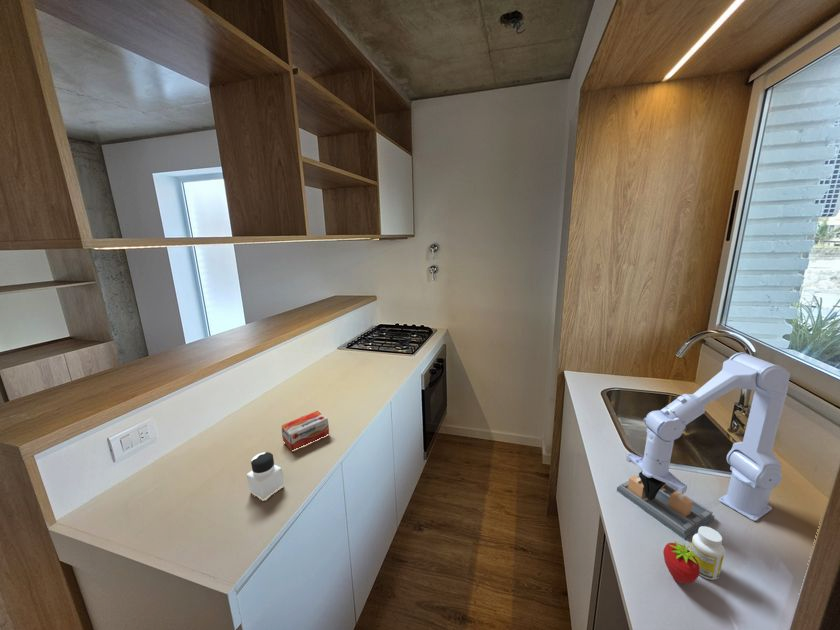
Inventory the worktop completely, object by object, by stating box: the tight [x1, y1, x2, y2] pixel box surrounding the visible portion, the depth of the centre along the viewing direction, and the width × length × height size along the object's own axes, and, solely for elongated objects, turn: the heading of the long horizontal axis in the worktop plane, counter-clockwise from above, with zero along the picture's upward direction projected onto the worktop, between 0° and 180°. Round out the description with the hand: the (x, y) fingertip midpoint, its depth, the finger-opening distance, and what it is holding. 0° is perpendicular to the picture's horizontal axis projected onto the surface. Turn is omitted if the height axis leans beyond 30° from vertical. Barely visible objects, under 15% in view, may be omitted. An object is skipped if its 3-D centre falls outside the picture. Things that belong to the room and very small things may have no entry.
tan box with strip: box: [668, 491, 693, 517], centre depth 89 cm, size 3×4×5 cm, turn 25°
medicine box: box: [281, 410, 330, 451], centre depth 126 cm, size 15×8×8 cm, turn 134°
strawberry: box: [662, 540, 700, 584], centre depth 72 cm, size 6×8×10 cm
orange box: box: [628, 474, 646, 499], centre depth 95 cm, size 3×4×5 cm, turn 25°
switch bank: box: [616, 475, 715, 540], centre depth 93 cm, size 13×18×2 cm
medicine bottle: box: [246, 451, 285, 499], centre depth 101 cm, size 7×7×12 cm
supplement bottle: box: [689, 525, 725, 581], centre depth 74 cm, size 5×5×10 cm
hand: (650, 497), depth 92 cm, fingers closed
